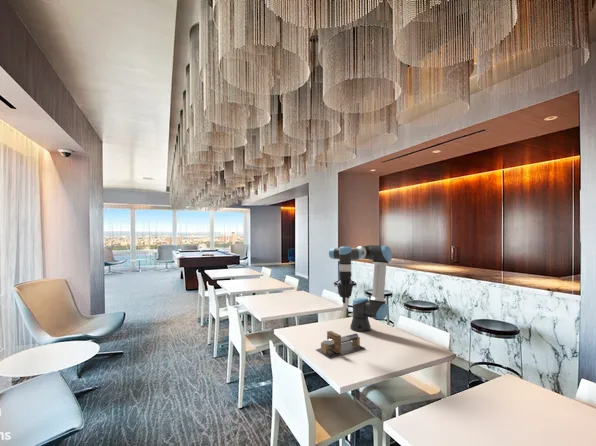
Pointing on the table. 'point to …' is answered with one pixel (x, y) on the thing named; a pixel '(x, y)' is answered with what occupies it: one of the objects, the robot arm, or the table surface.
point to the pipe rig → (345, 347)
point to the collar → (337, 338)
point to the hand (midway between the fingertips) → (345, 307)
